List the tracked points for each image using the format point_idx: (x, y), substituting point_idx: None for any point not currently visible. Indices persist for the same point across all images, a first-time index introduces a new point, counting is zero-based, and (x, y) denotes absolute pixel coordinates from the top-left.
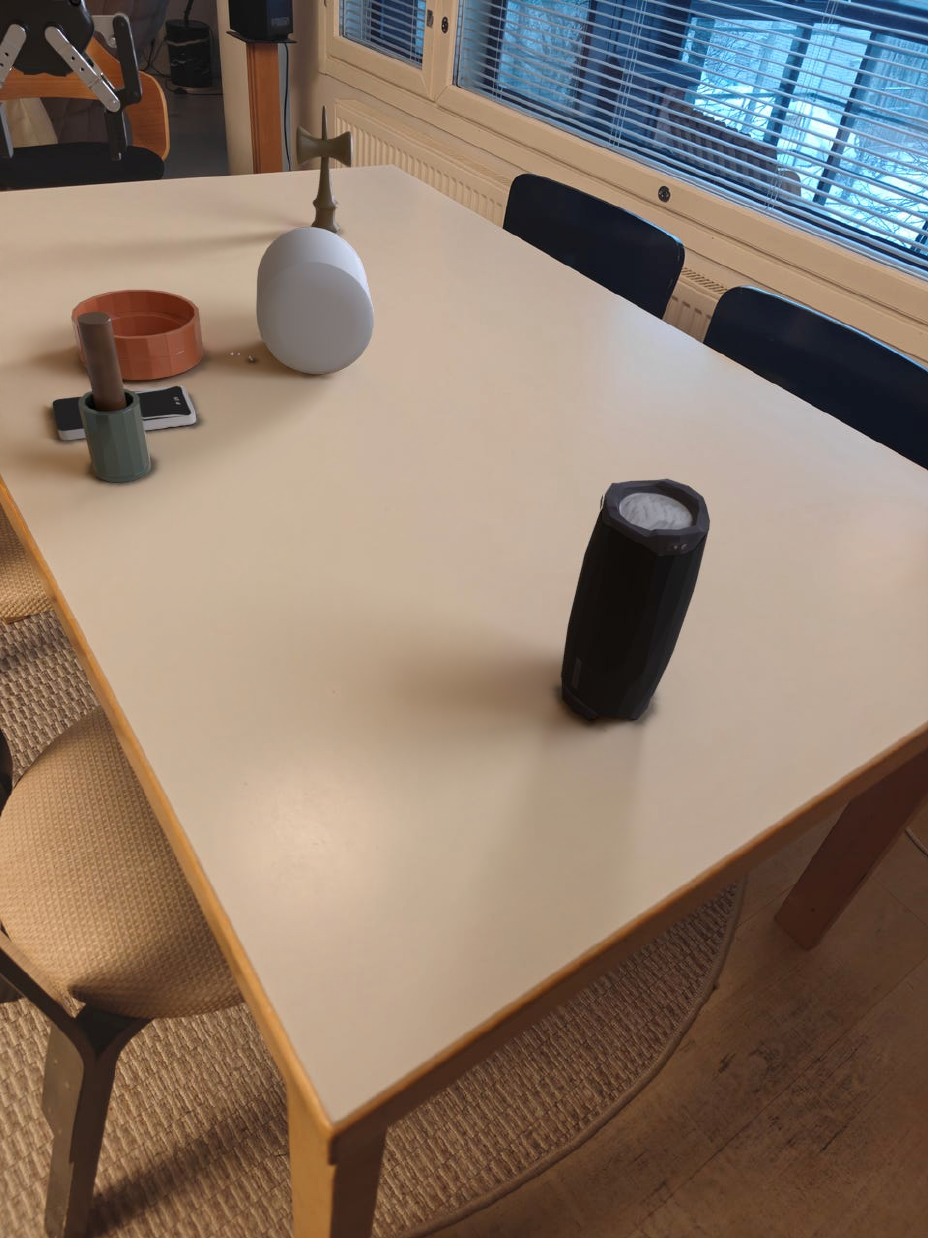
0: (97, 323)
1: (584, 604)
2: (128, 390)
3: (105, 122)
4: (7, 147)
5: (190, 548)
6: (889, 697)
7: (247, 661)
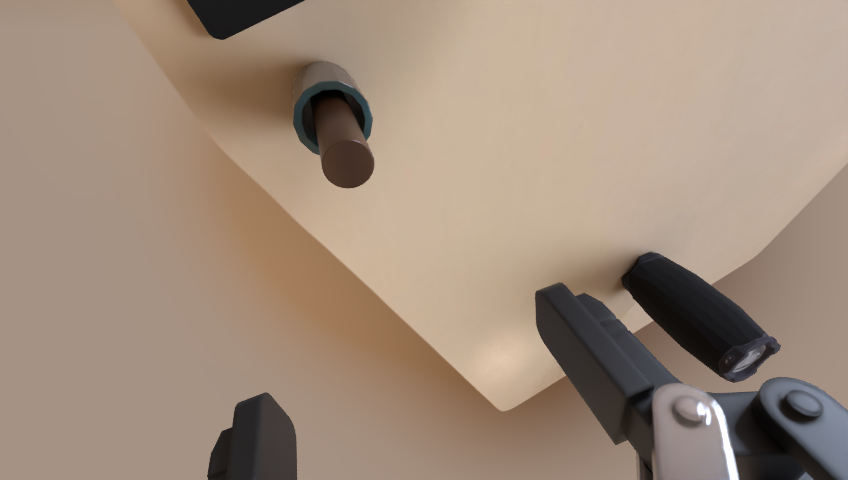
0: (361, 182)
1: (671, 331)
2: (348, 88)
3: (596, 417)
4: (295, 455)
5: (425, 209)
6: (760, 243)
7: (474, 293)
